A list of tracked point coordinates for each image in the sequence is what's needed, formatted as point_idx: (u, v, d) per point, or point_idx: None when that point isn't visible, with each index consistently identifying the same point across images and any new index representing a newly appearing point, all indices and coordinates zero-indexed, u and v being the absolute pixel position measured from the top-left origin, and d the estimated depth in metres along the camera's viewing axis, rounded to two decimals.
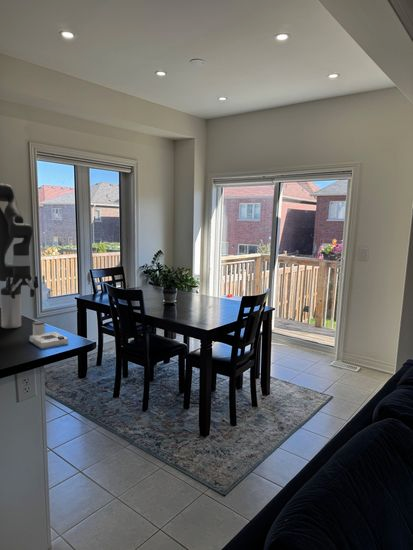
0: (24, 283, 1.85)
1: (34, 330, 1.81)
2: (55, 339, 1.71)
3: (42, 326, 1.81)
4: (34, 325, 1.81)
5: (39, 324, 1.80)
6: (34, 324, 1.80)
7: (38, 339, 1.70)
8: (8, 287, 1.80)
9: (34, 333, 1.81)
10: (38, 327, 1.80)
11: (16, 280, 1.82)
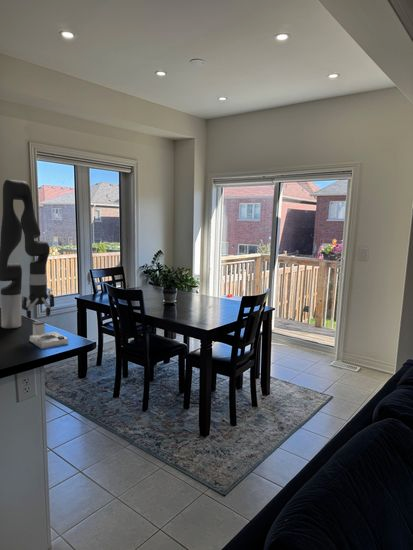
0: (40, 302, 1.80)
1: (34, 330, 1.81)
2: (55, 339, 1.71)
3: (42, 326, 1.81)
4: (34, 325, 1.81)
5: (39, 324, 1.80)
6: (34, 324, 1.80)
7: (38, 339, 1.70)
8: (24, 307, 1.75)
9: (34, 333, 1.81)
10: (38, 327, 1.80)
11: (32, 299, 1.77)
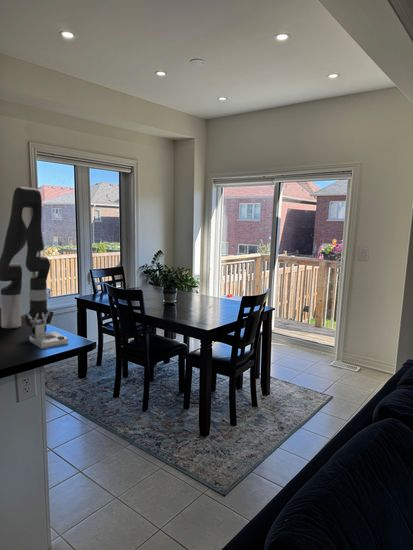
0: (40, 317, 1.81)
1: None
2: (55, 339, 1.71)
3: (42, 326, 1.81)
4: None
5: (39, 324, 1.80)
6: None
7: (38, 339, 1.70)
8: (28, 324, 1.78)
9: None
10: (38, 327, 1.80)
11: (33, 316, 1.79)
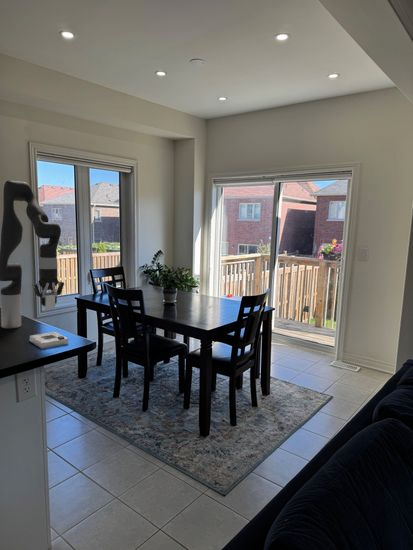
0: (51, 287, 1.71)
1: None
2: (55, 339, 1.71)
3: (53, 297, 1.71)
4: None
5: (49, 294, 1.70)
6: None
7: (38, 339, 1.70)
8: (38, 294, 1.67)
9: None
10: (48, 298, 1.70)
11: (43, 285, 1.68)
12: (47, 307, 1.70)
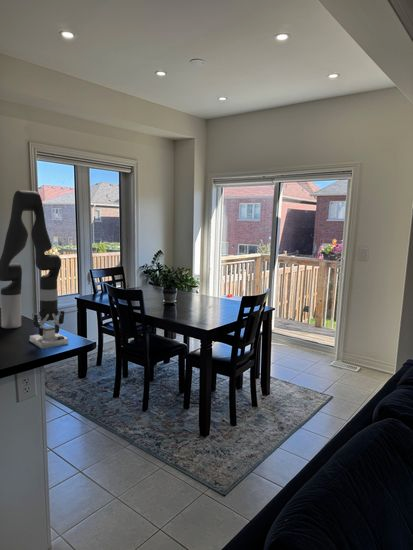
0: (51, 318, 1.72)
1: (44, 336, 1.72)
2: (55, 339, 1.71)
3: (52, 332, 1.73)
4: (44, 331, 1.72)
5: (49, 330, 1.72)
6: (44, 330, 1.72)
7: (38, 339, 1.70)
8: (36, 324, 1.68)
9: None
10: (48, 333, 1.72)
11: (43, 316, 1.70)
12: None
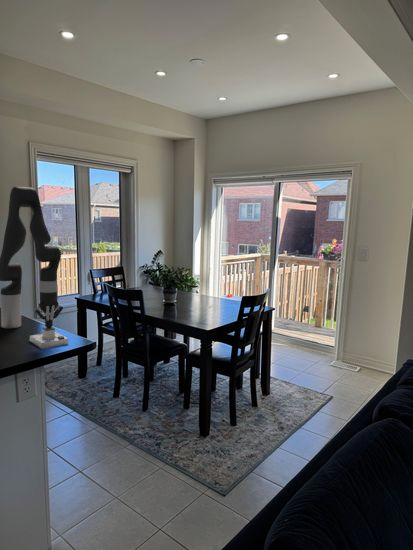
0: (51, 310, 1.72)
1: (44, 336, 1.72)
2: (55, 339, 1.71)
3: (52, 332, 1.73)
4: (44, 331, 1.72)
5: (49, 330, 1.72)
6: (44, 330, 1.72)
7: (38, 339, 1.70)
8: (42, 317, 1.70)
9: None
10: (48, 333, 1.72)
11: (44, 309, 1.70)
12: None
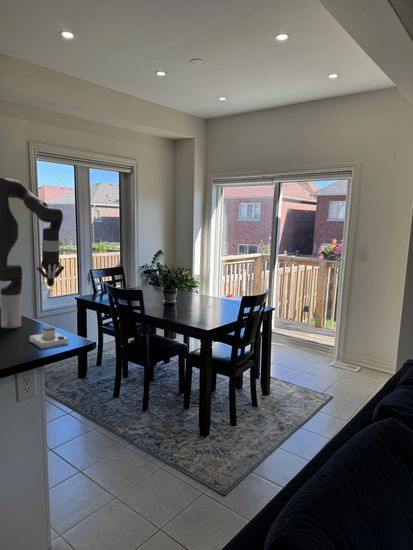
0: (52, 269, 1.81)
1: (44, 336, 1.72)
2: (55, 339, 1.71)
3: (52, 332, 1.73)
4: (44, 331, 1.72)
5: (49, 330, 1.72)
6: (44, 330, 1.72)
7: (38, 339, 1.70)
8: (44, 275, 1.78)
9: None
10: (48, 333, 1.72)
11: (46, 268, 1.78)
12: None
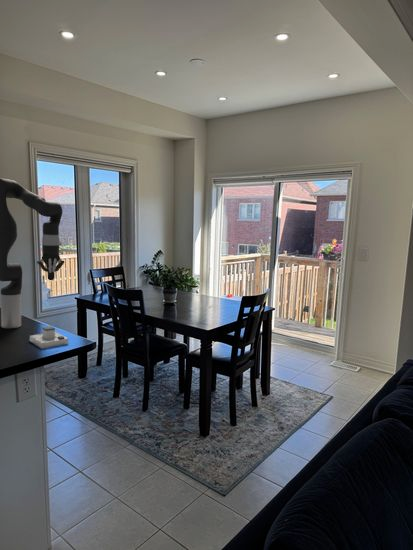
0: None
1: (44, 336, 1.72)
2: (55, 339, 1.71)
3: (52, 332, 1.73)
4: (44, 331, 1.72)
5: (49, 330, 1.72)
6: (44, 330, 1.72)
7: (38, 339, 1.70)
8: (45, 269, 1.80)
9: None
10: (48, 333, 1.72)
11: (46, 262, 1.80)
12: None
